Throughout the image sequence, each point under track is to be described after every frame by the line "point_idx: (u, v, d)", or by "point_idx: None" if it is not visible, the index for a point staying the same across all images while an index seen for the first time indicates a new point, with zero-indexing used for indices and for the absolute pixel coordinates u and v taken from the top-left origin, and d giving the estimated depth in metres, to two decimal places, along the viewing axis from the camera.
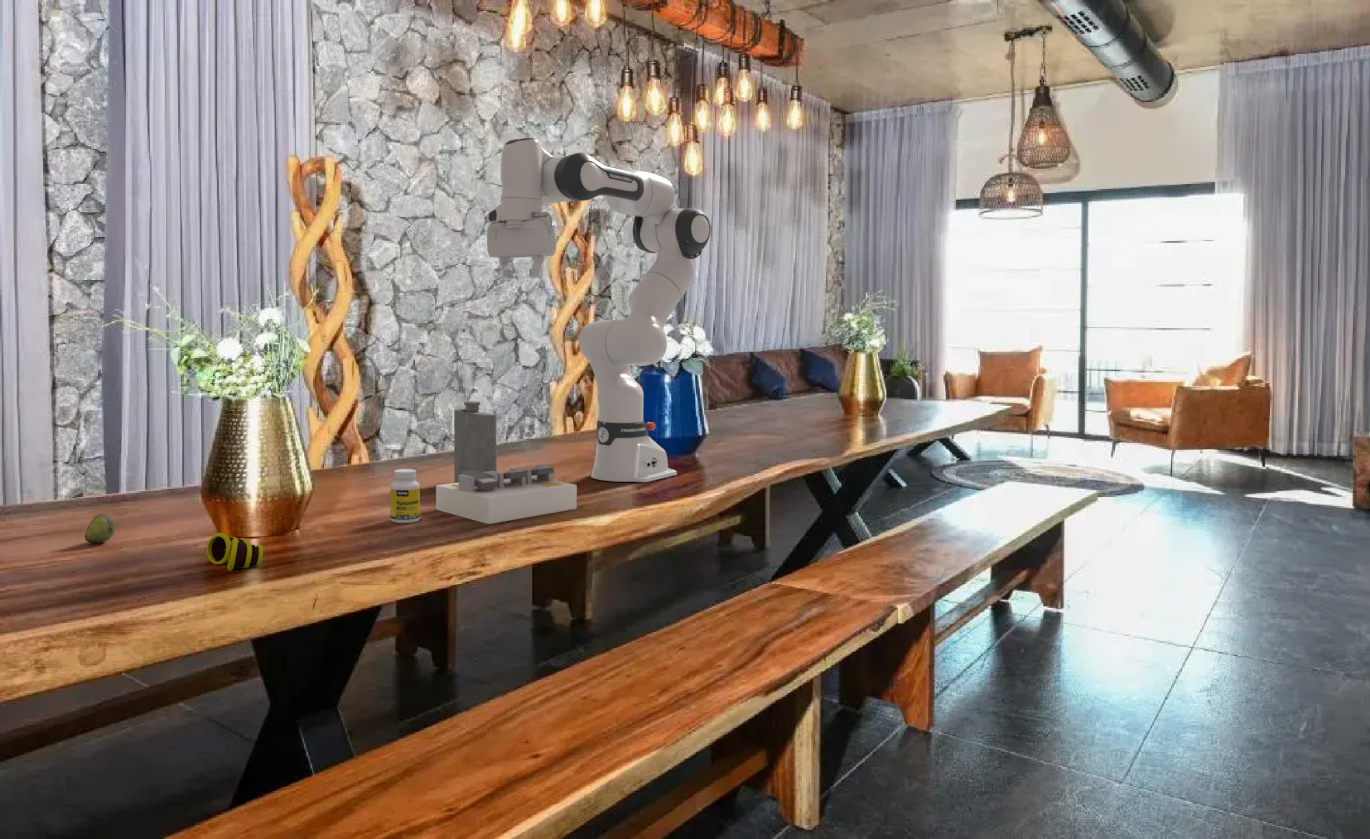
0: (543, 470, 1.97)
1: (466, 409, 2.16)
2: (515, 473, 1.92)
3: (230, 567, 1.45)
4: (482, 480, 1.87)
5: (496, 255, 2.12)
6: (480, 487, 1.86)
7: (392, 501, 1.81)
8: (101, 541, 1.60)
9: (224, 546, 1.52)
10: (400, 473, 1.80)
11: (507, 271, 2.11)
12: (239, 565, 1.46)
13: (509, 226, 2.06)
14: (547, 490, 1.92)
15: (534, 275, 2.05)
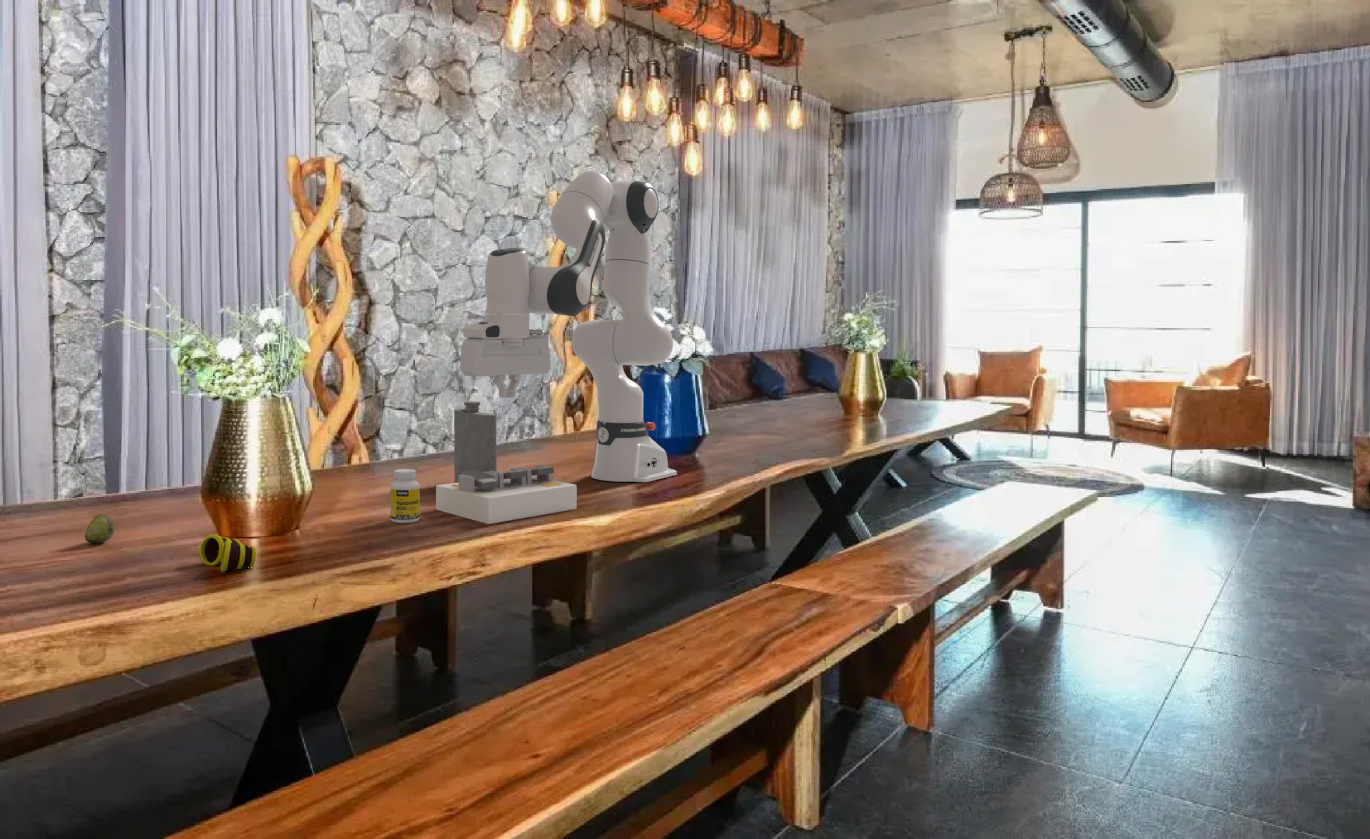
0: (543, 470, 1.97)
1: (466, 409, 2.16)
2: (515, 473, 1.92)
3: (223, 568, 1.44)
4: (482, 480, 1.87)
5: (484, 374, 1.87)
6: (480, 487, 1.86)
7: (392, 501, 1.81)
8: (101, 541, 1.60)
9: (217, 547, 1.52)
10: (400, 473, 1.80)
11: None
12: (232, 566, 1.45)
13: (516, 344, 1.90)
14: (547, 490, 1.92)
15: None
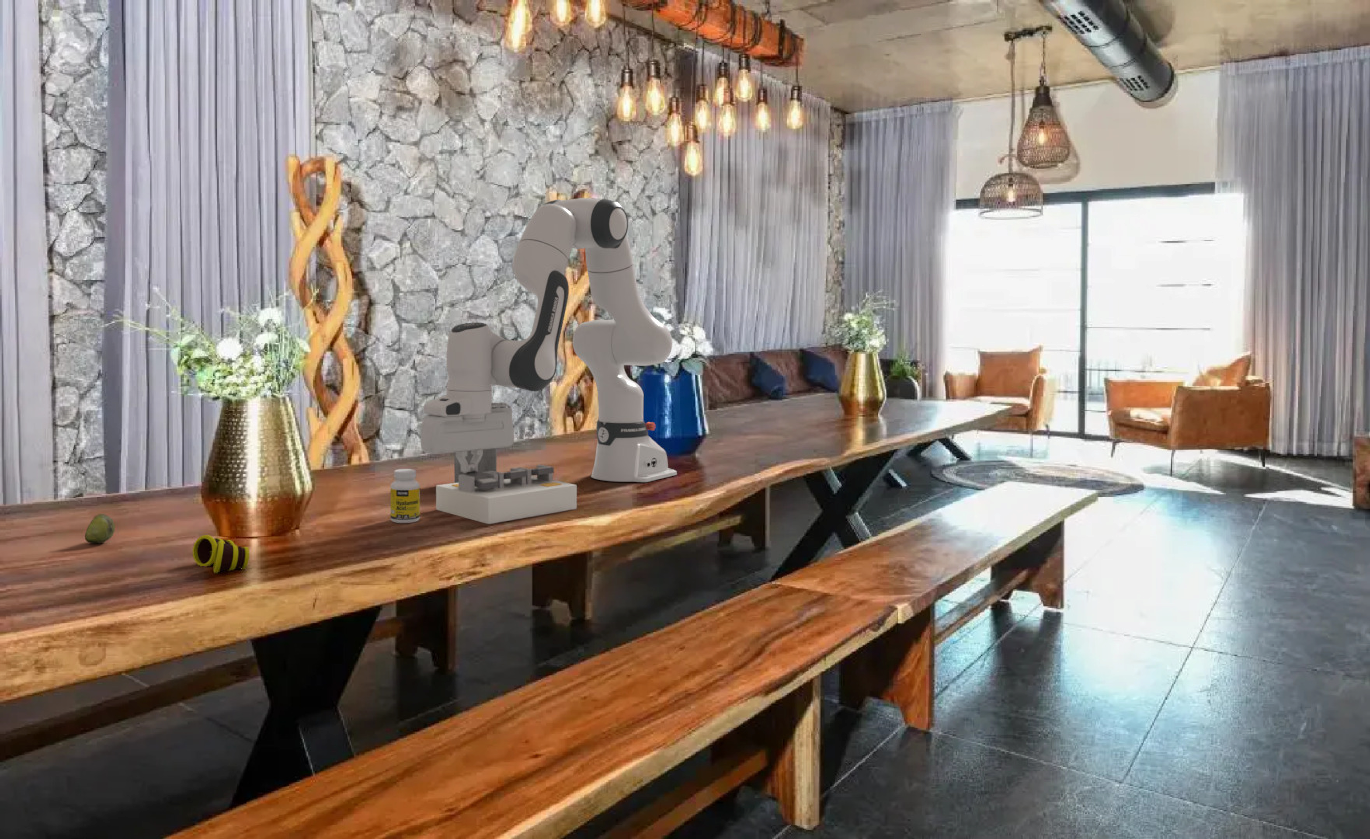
0: (543, 470, 1.97)
1: None
2: (515, 473, 1.92)
3: (216, 569, 1.43)
4: (482, 480, 1.87)
5: (445, 452, 1.85)
6: (480, 487, 1.86)
7: (392, 501, 1.81)
8: (101, 541, 1.60)
9: (210, 548, 1.51)
10: (400, 473, 1.80)
11: None
12: (225, 567, 1.45)
13: (478, 420, 1.89)
14: (547, 490, 1.92)
15: None
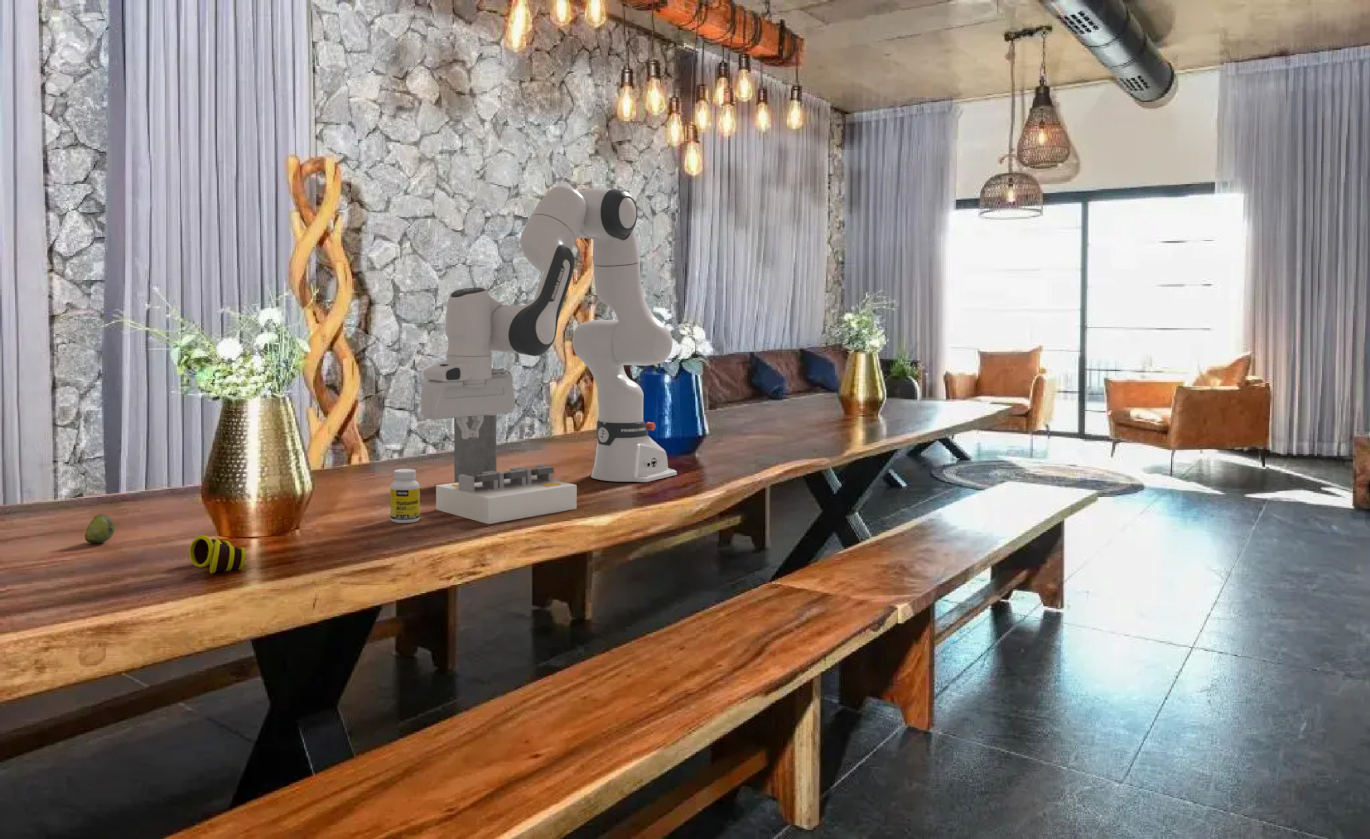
0: (543, 470, 1.97)
1: None
2: (515, 473, 1.92)
3: (212, 570, 1.43)
4: None
5: (445, 417, 1.85)
6: (480, 480, 1.86)
7: (392, 501, 1.81)
8: (101, 541, 1.60)
9: (207, 549, 1.51)
10: (400, 473, 1.80)
11: None
12: (221, 568, 1.44)
13: (478, 385, 1.88)
14: (547, 490, 1.92)
15: None
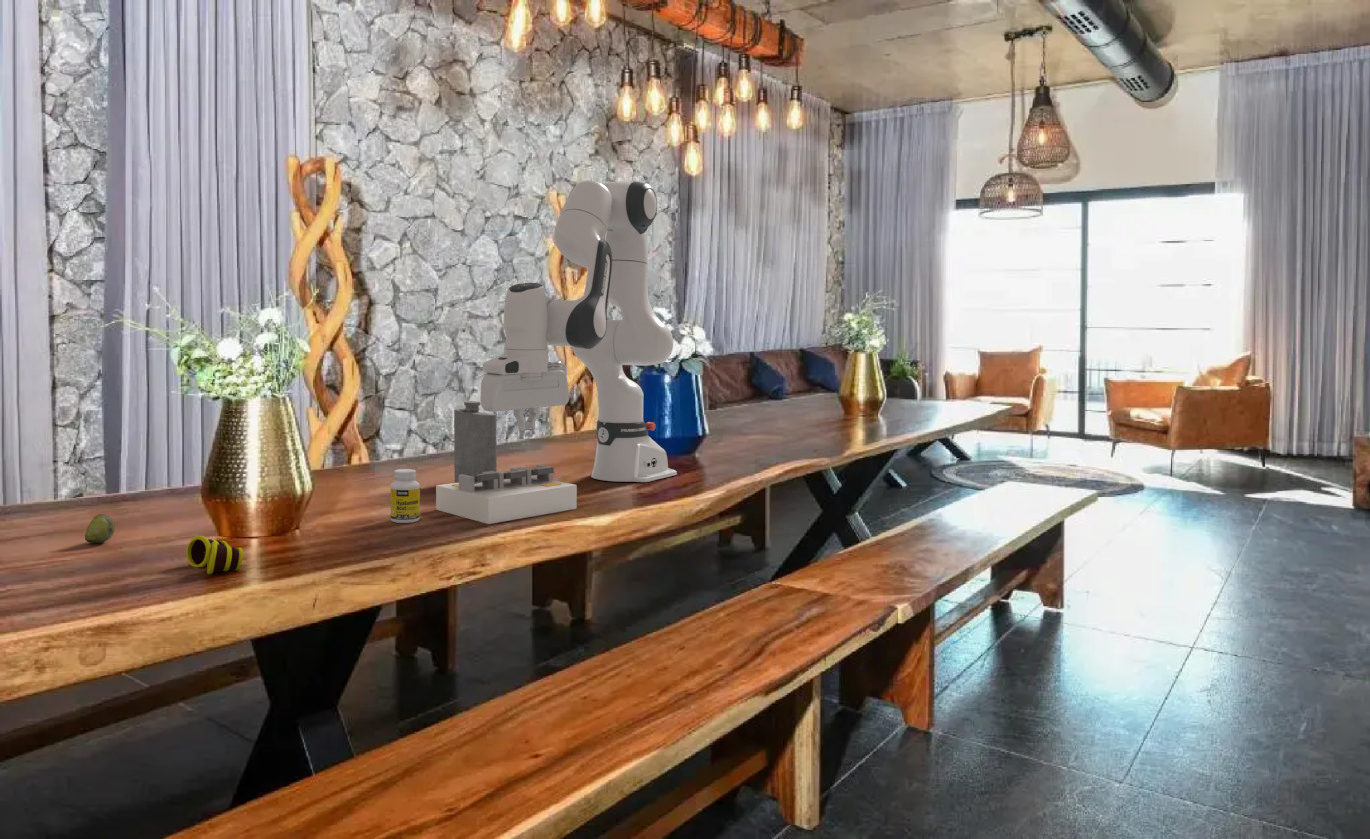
0: (543, 470, 1.97)
1: (466, 409, 2.16)
2: (515, 473, 1.92)
3: (210, 570, 1.43)
4: (481, 474, 1.87)
5: (504, 409, 1.90)
6: (480, 479, 1.86)
7: (392, 501, 1.81)
8: (101, 541, 1.60)
9: (204, 549, 1.50)
10: (400, 473, 1.80)
11: None
12: (219, 568, 1.44)
13: (535, 378, 1.93)
14: (547, 490, 1.92)
15: None
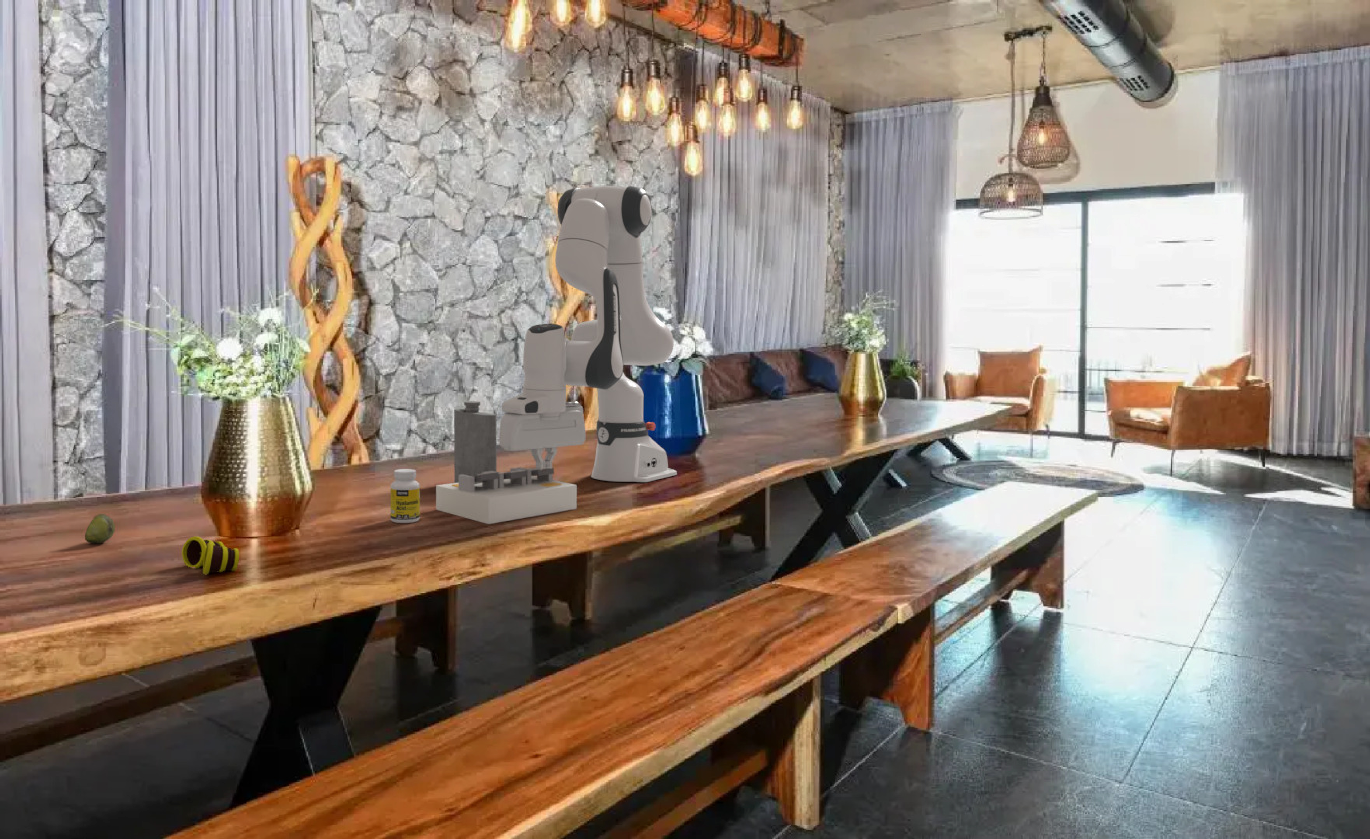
0: (543, 471, 1.97)
1: (466, 409, 2.16)
2: (515, 473, 1.92)
3: (206, 571, 1.42)
4: (481, 473, 1.87)
5: (523, 449, 1.91)
6: (480, 479, 1.86)
7: (392, 501, 1.81)
8: (101, 541, 1.60)
9: (200, 550, 1.50)
10: (400, 473, 1.80)
11: None
12: (215, 569, 1.44)
13: (554, 418, 1.94)
14: (547, 490, 1.92)
15: None
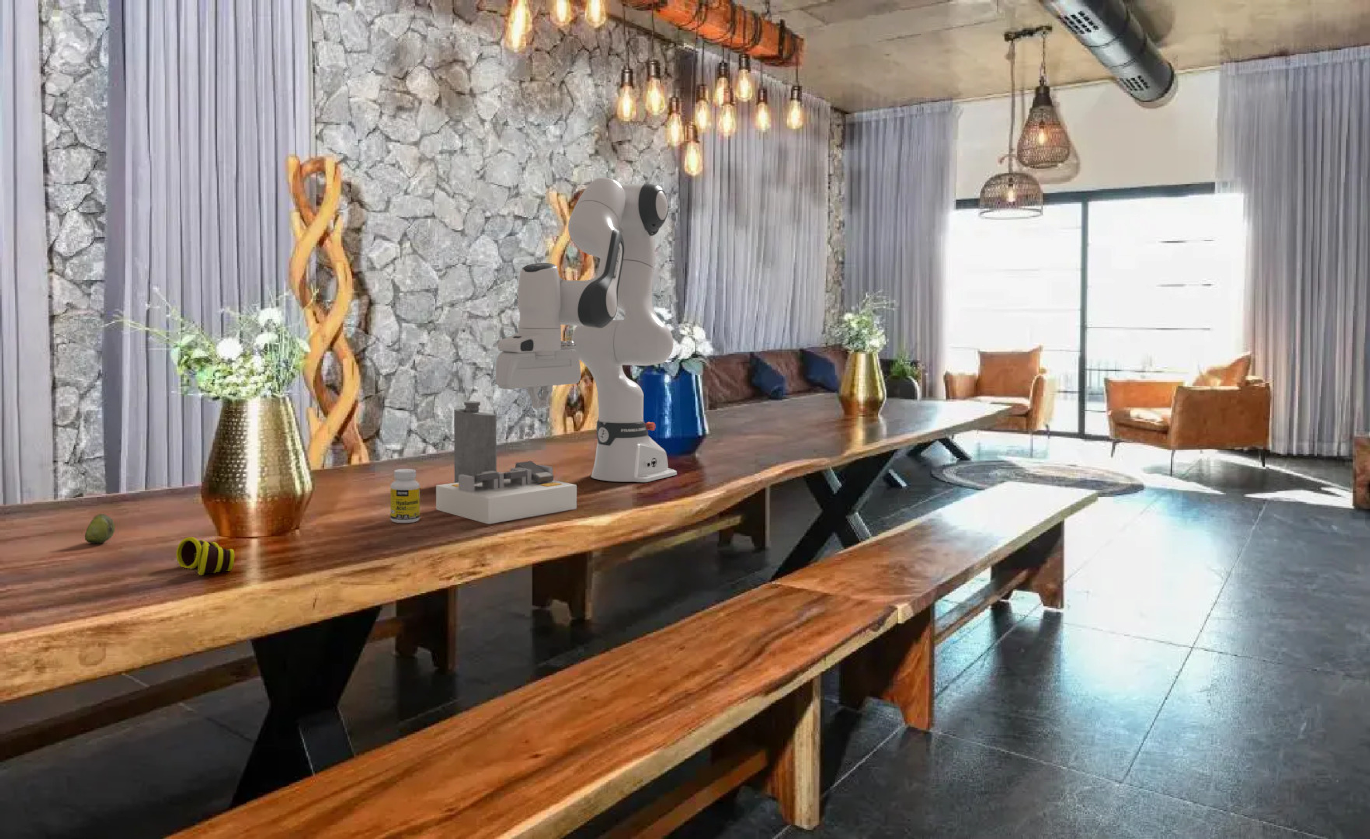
0: (543, 479, 1.97)
1: (466, 409, 2.16)
2: (515, 473, 1.92)
3: (201, 572, 1.42)
4: (481, 473, 1.87)
5: (519, 387, 1.93)
6: (480, 479, 1.86)
7: (392, 501, 1.81)
8: (101, 541, 1.60)
9: (194, 550, 1.49)
10: (400, 473, 1.80)
11: None
12: (210, 569, 1.43)
13: (549, 357, 1.97)
14: (547, 490, 1.92)
15: None
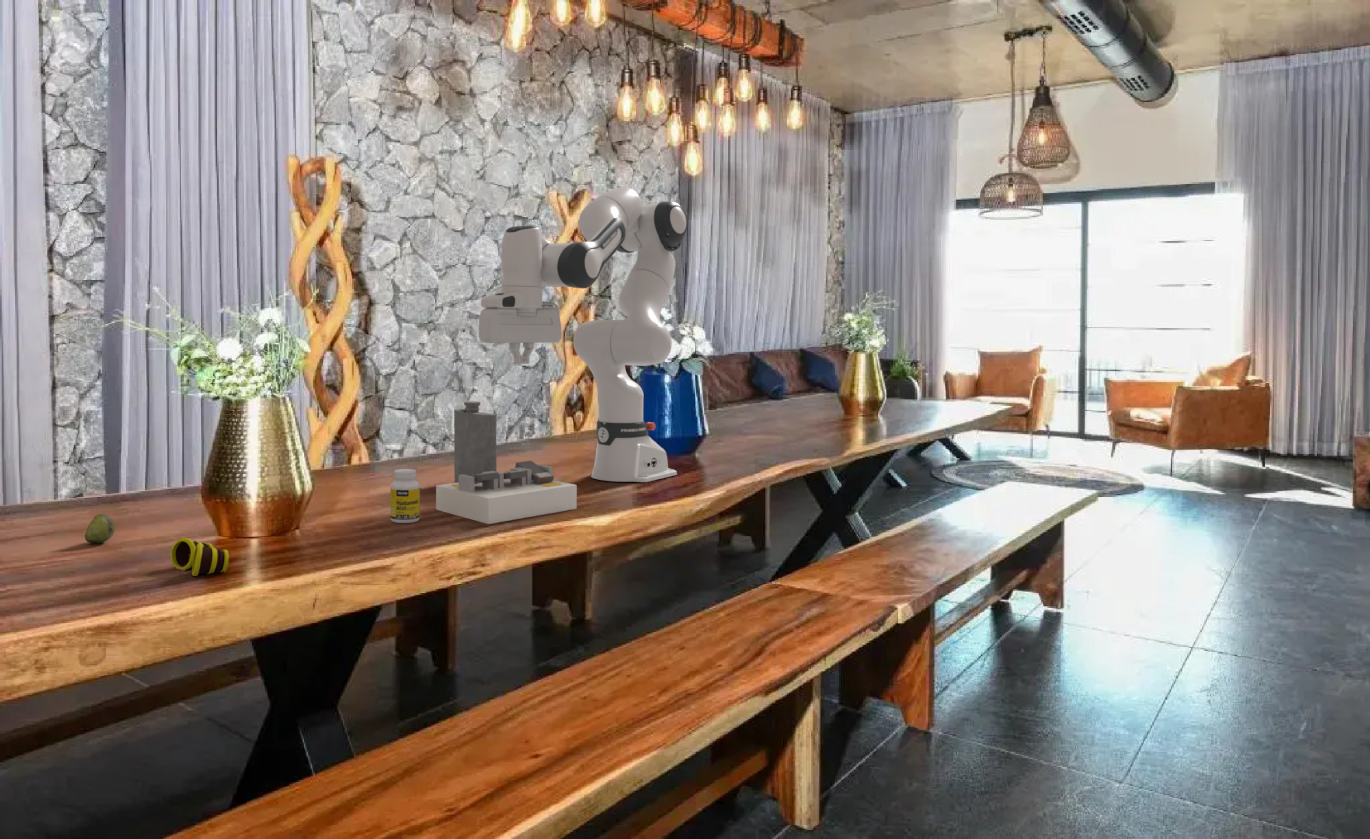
0: (543, 479, 1.97)
1: (466, 409, 2.16)
2: (515, 473, 1.92)
3: (195, 573, 1.41)
4: (481, 473, 1.87)
5: (501, 341, 2.02)
6: (480, 479, 1.86)
7: (392, 501, 1.81)
8: (101, 541, 1.60)
9: (188, 551, 1.49)
10: (400, 473, 1.80)
11: None
12: (204, 570, 1.43)
13: (530, 314, 2.06)
14: (547, 490, 1.92)
15: None
